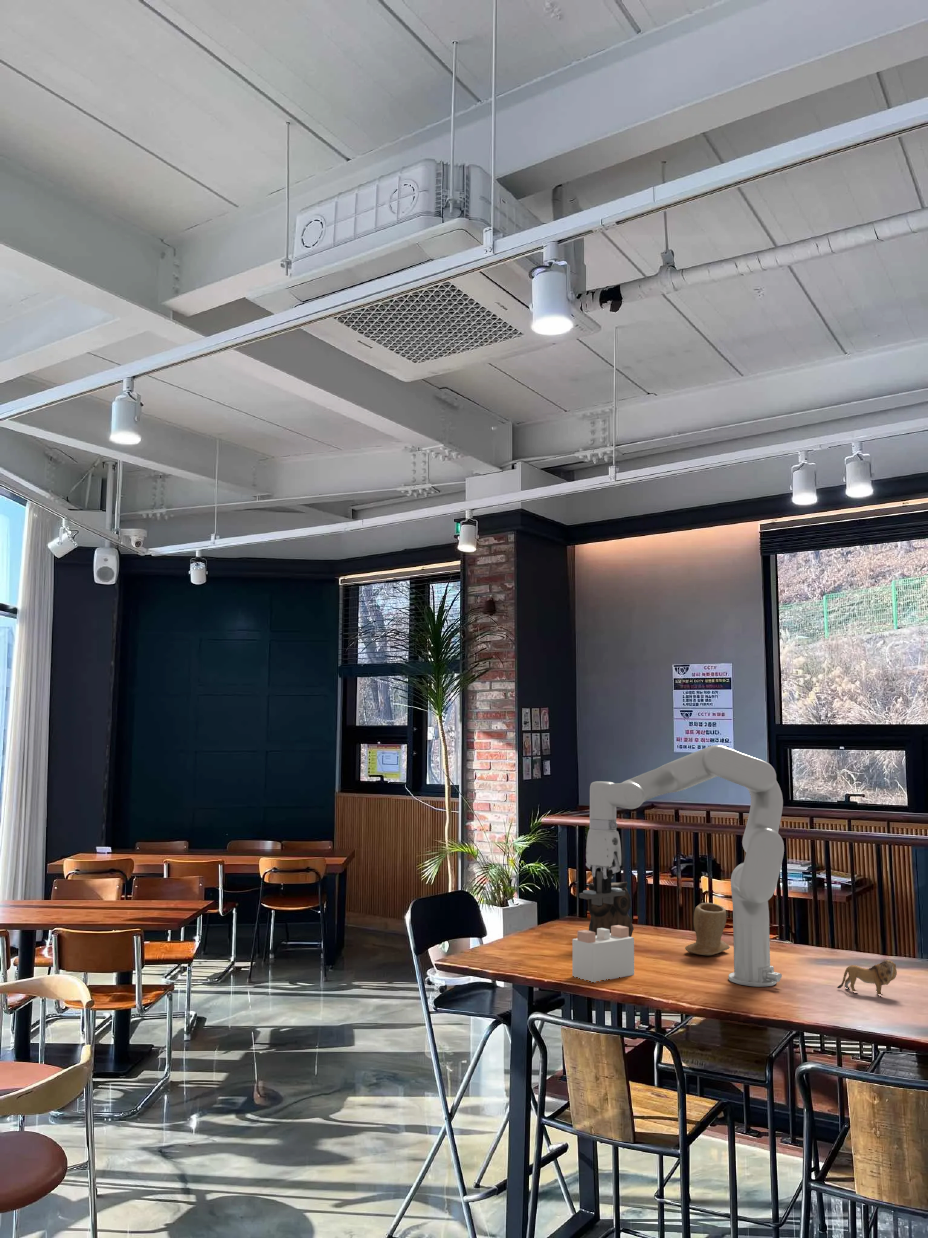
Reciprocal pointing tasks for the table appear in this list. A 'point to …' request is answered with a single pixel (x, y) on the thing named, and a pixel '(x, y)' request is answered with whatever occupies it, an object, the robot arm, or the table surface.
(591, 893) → the bar with two balls
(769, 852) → the robot arm
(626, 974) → the white toy brick
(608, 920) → the owl
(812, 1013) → the table surface
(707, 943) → the stone cup
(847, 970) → the lion figurine
